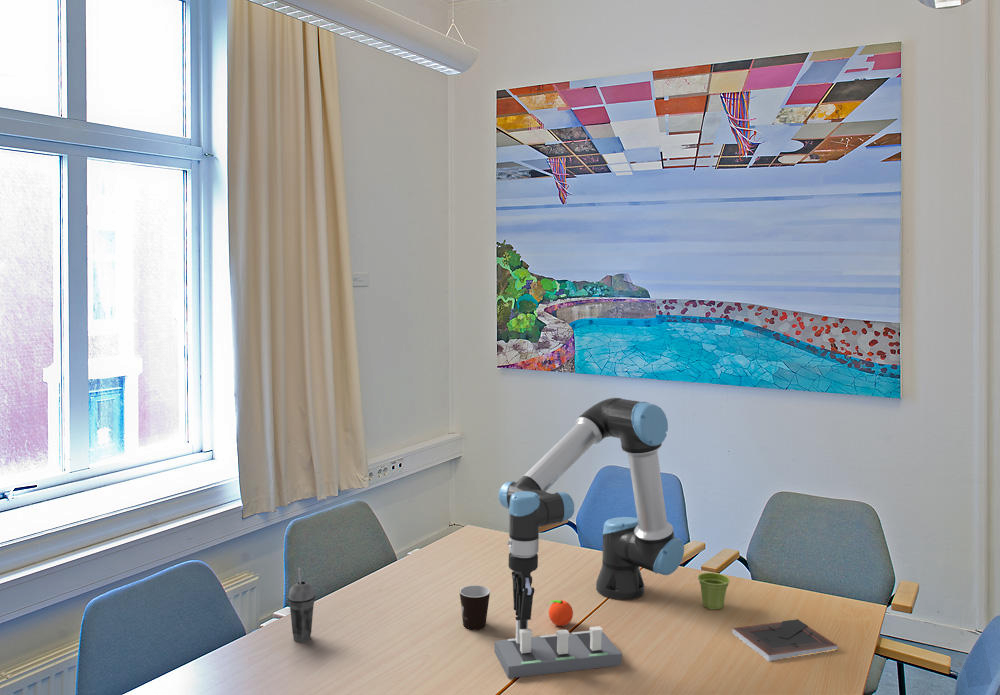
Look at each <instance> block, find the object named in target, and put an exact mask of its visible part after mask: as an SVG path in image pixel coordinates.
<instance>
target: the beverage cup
mask: <svg viewBox="0 0 1000 695" xmlns="http://www.w3.org/2000/svg"><path fill="white" fill-rule="evenodd" d="M297 572H298V582H296V583H294V584H293V585H292V586H291V587H290V589H289V593H288V597H287V600H288V605H289V611H290V620H291V630H292V637H293V639H292V640H293V641H295V642H297V643H305V642H307V641H310V640H311V636H312V627H313V618H314V616H313V615H314V605H315V600H316V592H315V588H314V587H313V586H312V584H311V583H309V582H307V581H302V576H301V567H298V568H297Z"/></svg>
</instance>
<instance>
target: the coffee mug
mask: <svg viewBox="0 0 1000 695" xmlns="http://www.w3.org/2000/svg"><path fill="white" fill-rule="evenodd" d="M490 594H491V589H490V588H489V587H486V586H483V585H477V584H471V585H465V586H462V587H461V588H460V590H459V599H460V609H461V618H462V619H461V620H462V626H464V627H465V628H464V627H463V628H464V629H466V630H468V629H469V631H481V630H483V629H484V627H485V628H486V626H487V619H488V618H487V617H488V609H489V604H490V603H489V601H490ZM480 629H481V630H480Z"/></svg>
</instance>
